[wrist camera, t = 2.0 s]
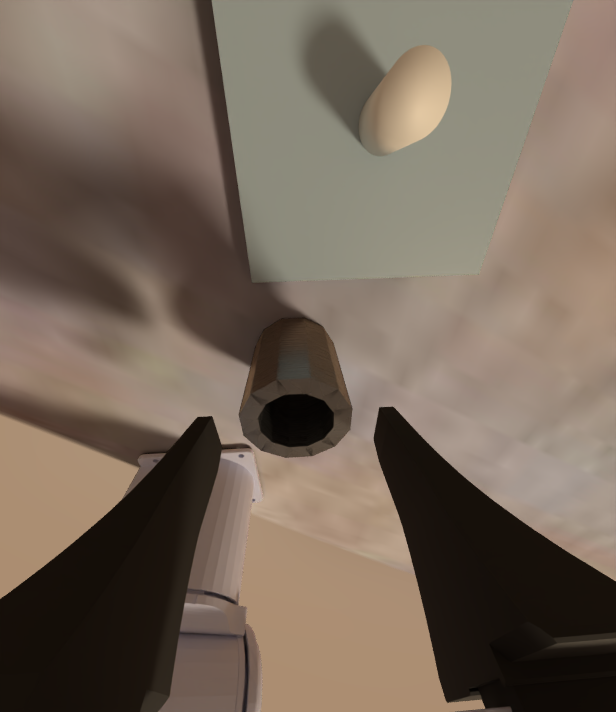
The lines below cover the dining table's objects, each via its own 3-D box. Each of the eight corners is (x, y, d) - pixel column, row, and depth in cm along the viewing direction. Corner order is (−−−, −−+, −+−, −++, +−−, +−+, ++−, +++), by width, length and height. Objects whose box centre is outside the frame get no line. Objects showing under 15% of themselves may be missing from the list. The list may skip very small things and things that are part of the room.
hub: (261, 384, 18) (249, 460, 12) (251, 319, 15) (230, 381, 10) (331, 381, 18) (347, 454, 13) (334, 316, 15) (356, 375, 10)
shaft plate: (254, 277, 14) (241, 303, 10) (197, -146, 7) (110, -459, 4) (467, 269, 14) (523, 292, 11) (595, -136, 8) (842, -407, 4)
